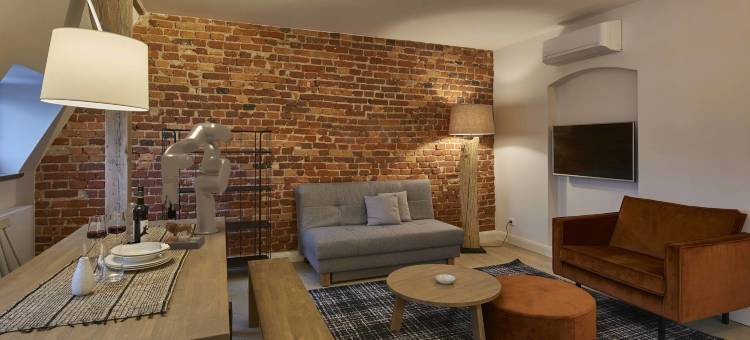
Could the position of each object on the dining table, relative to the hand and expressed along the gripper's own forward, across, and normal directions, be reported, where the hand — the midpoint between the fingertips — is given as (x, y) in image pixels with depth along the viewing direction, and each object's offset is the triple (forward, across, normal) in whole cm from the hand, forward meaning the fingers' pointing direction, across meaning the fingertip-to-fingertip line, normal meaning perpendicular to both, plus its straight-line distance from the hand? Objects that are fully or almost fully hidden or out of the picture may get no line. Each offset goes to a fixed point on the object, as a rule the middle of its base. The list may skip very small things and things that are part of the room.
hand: (171, 218), depth 201 cm
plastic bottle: (+14, -11, -22) cm, 28 cm away
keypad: (+14, 0, +5) cm, 15 cm away
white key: (+11, -1, +5) cm, 13 cm away
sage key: (+12, -1, +10) cm, 16 cm away
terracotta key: (+11, -1, 0) cm, 11 cm away
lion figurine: (+14, -19, -2) cm, 23 cm away
